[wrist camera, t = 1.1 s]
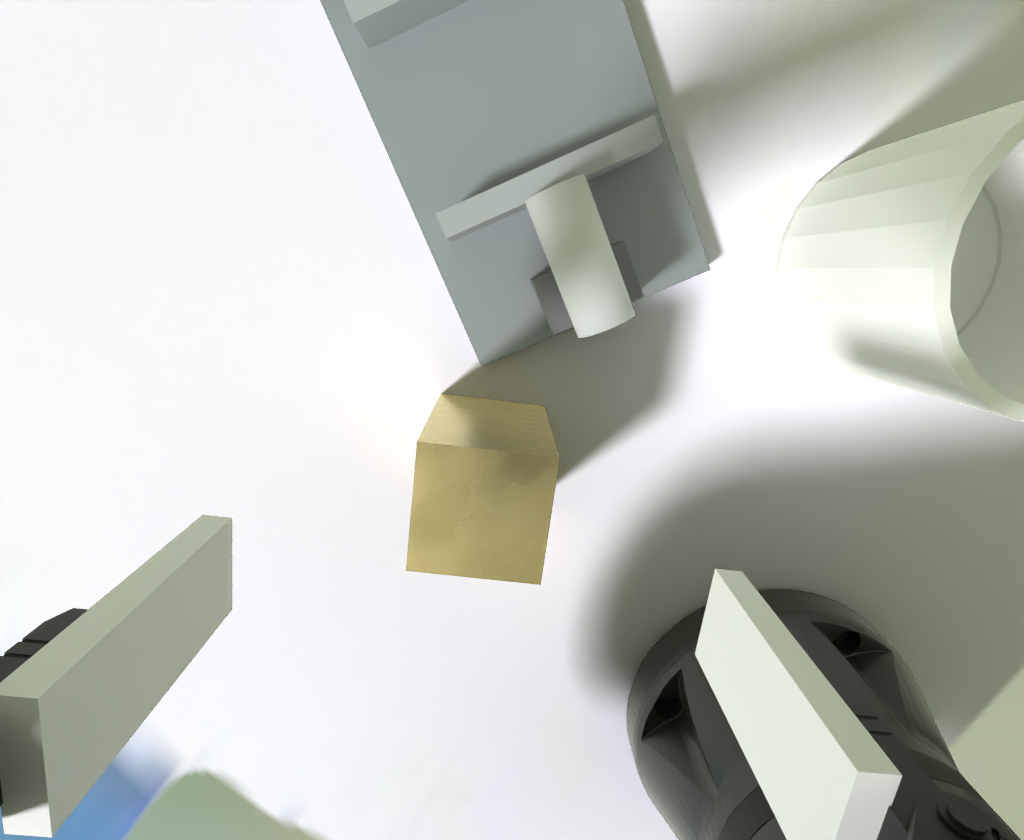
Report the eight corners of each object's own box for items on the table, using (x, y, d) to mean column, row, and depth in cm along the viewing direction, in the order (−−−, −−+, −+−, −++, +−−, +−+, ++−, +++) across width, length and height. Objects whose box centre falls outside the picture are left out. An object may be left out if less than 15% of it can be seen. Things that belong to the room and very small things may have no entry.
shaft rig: (702, 269, 26) (751, 269, 21) (482, 363, 27) (477, 385, 22) (536, -239, 22) (546, -400, 16) (276, -105, 23) (208, -217, 17)
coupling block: (530, 501, 29) (540, 584, 22) (432, 490, 29) (406, 570, 21) (544, 405, 28) (559, 457, 20) (441, 393, 28) (417, 441, 20)
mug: (730, 310, 27) (863, 334, 17) (858, 101, 25) (1096, -12, 15) (942, 431, 29) (1176, 516, 19) (1079, 244, 26) (1426, 229, 17)
